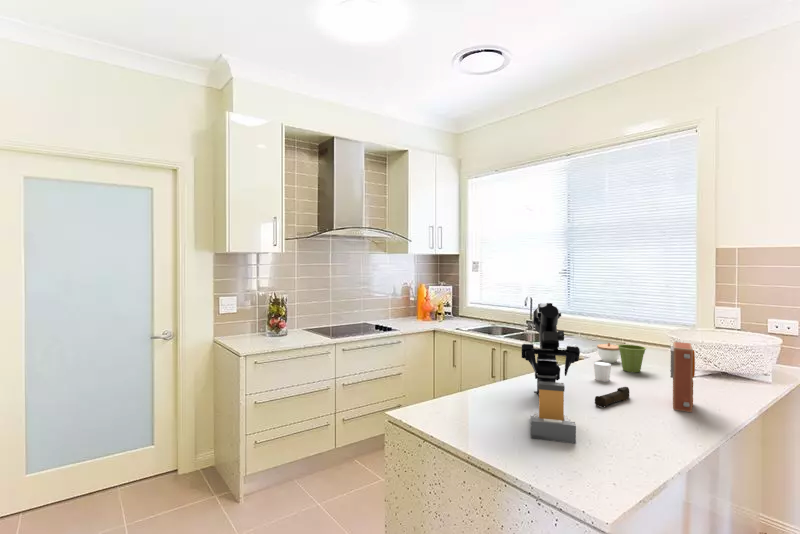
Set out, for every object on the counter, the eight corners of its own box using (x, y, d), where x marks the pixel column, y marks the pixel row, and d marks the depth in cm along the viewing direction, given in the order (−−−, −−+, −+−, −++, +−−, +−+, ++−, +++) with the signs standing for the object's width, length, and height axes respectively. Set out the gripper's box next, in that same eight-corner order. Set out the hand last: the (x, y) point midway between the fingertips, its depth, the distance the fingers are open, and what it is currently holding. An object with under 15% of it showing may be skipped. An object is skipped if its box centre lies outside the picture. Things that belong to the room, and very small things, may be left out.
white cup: (612, 378, 185) (612, 362, 185) (610, 382, 179) (610, 366, 179) (594, 376, 188) (594, 360, 188) (592, 380, 183) (592, 364, 182)
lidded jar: (600, 363, 213) (600, 344, 212) (594, 358, 223) (594, 340, 223) (623, 364, 211) (623, 345, 211) (616, 359, 221) (616, 341, 221)
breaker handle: (538, 419, 134) (538, 381, 134) (563, 421, 132) (563, 383, 132) (538, 422, 131) (538, 384, 131) (564, 425, 129) (564, 386, 129)
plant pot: (651, 374, 192) (651, 349, 192) (625, 374, 192) (625, 349, 192) (637, 367, 204) (637, 344, 204) (612, 367, 204) (612, 344, 204)
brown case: (692, 401, 155) (694, 414, 142) (669, 398, 159) (670, 410, 146) (693, 342, 155) (695, 350, 142) (670, 340, 158) (670, 347, 146)
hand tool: (604, 409, 148) (604, 396, 148) (594, 405, 151) (594, 392, 151) (636, 400, 157) (636, 388, 157) (625, 397, 161) (626, 385, 161)
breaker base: (530, 418, 138) (530, 402, 138) (570, 422, 135) (570, 405, 135) (531, 438, 123) (531, 420, 123) (575, 443, 120) (575, 424, 119)
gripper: (521, 320, 149) (522, 359, 138) (579, 322, 144) (584, 363, 133) (521, 338, 157) (521, 376, 146) (576, 341, 152) (580, 381, 141)
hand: (550, 374), depth 142 cm, fingers open, 9 cm apart
